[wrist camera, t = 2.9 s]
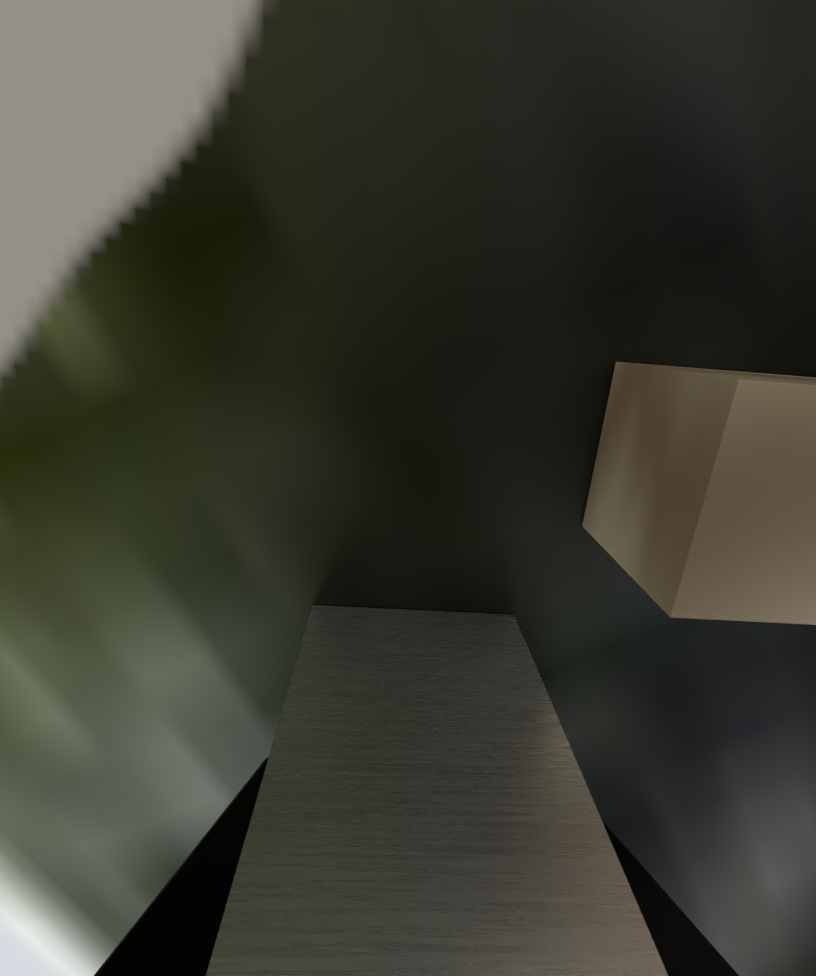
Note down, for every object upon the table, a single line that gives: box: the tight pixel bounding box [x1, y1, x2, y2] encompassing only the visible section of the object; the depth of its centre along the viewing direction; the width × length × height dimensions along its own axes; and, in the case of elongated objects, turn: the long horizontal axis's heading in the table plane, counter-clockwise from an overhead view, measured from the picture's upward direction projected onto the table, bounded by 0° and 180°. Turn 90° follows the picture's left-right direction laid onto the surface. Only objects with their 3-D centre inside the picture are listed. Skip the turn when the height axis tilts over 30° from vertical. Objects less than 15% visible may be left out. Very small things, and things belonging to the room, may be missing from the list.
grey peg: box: [206, 605, 668, 976], centre depth 6 cm, size 4×4×8 cm
